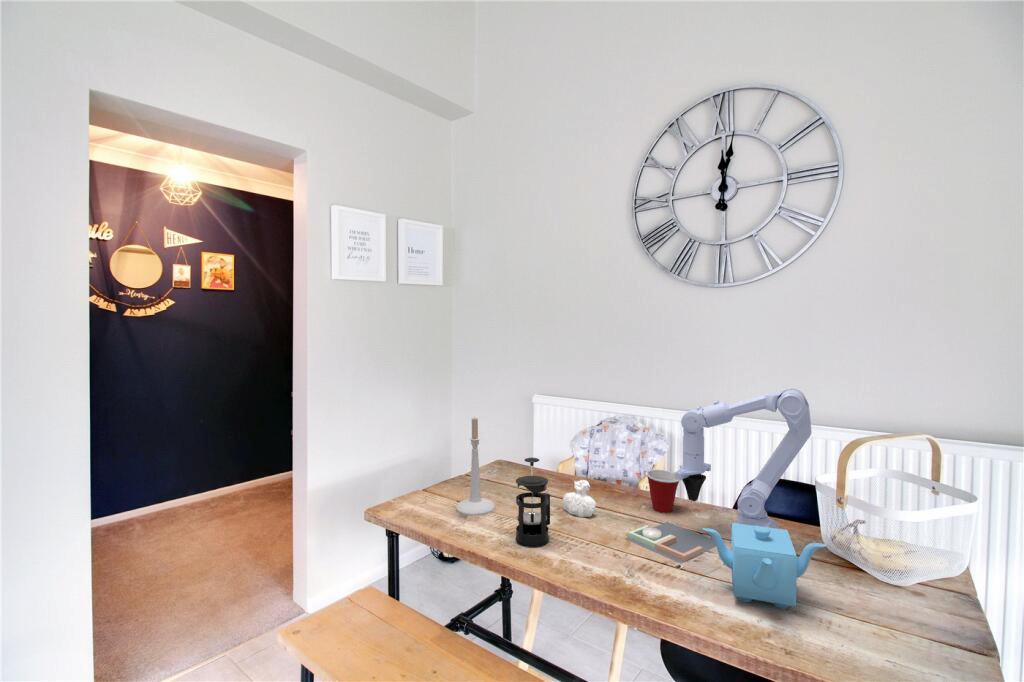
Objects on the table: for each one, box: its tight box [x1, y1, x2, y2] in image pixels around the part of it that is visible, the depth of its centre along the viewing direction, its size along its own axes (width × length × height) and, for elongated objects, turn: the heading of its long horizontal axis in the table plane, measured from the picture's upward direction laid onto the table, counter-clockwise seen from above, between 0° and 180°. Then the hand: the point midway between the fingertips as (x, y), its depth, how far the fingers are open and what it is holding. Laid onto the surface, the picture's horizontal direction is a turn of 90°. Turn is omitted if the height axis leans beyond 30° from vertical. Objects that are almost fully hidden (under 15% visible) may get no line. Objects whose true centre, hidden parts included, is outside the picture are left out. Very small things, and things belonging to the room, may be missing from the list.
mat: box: [624, 521, 717, 564], centre depth 139 cm, size 18×19×1 cm
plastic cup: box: [645, 468, 681, 514], centre depth 162 cm, size 11×11×12 cm
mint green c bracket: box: [627, 524, 673, 549], centre depth 141 cm, size 9×8×1 cm
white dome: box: [643, 527, 661, 541], centre depth 141 cm, size 5×5×2 cm
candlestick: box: [455, 417, 496, 517], centre depth 166 cm, size 13×13×30 cm
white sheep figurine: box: [562, 479, 597, 518], centre depth 162 cm, size 12×8×11 cm
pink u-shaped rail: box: [655, 536, 703, 563], centre depth 133 cm, size 9×8×1 cm
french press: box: [515, 457, 551, 549], centre depth 142 cm, size 12×9×23 cm
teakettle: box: [701, 522, 828, 610], centre depth 113 cm, size 19×19×15 cm
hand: (692, 500), depth 144 cm, fingers closed
